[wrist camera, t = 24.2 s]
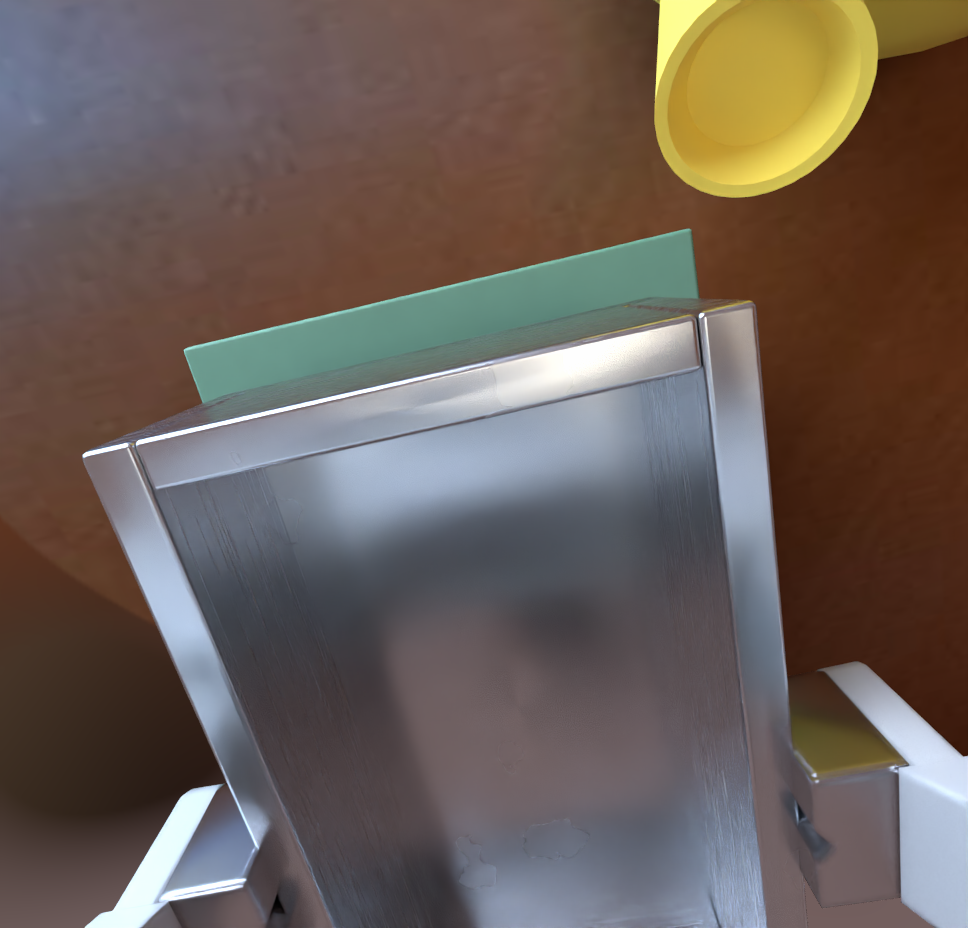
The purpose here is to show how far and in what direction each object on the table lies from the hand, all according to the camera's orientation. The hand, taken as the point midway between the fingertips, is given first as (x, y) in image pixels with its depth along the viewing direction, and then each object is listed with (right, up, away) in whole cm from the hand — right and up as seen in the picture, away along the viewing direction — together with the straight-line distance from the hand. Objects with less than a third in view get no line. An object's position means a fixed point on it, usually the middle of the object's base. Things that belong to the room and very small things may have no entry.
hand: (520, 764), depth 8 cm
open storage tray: (0, +1, +2) cm, 2 cm away
